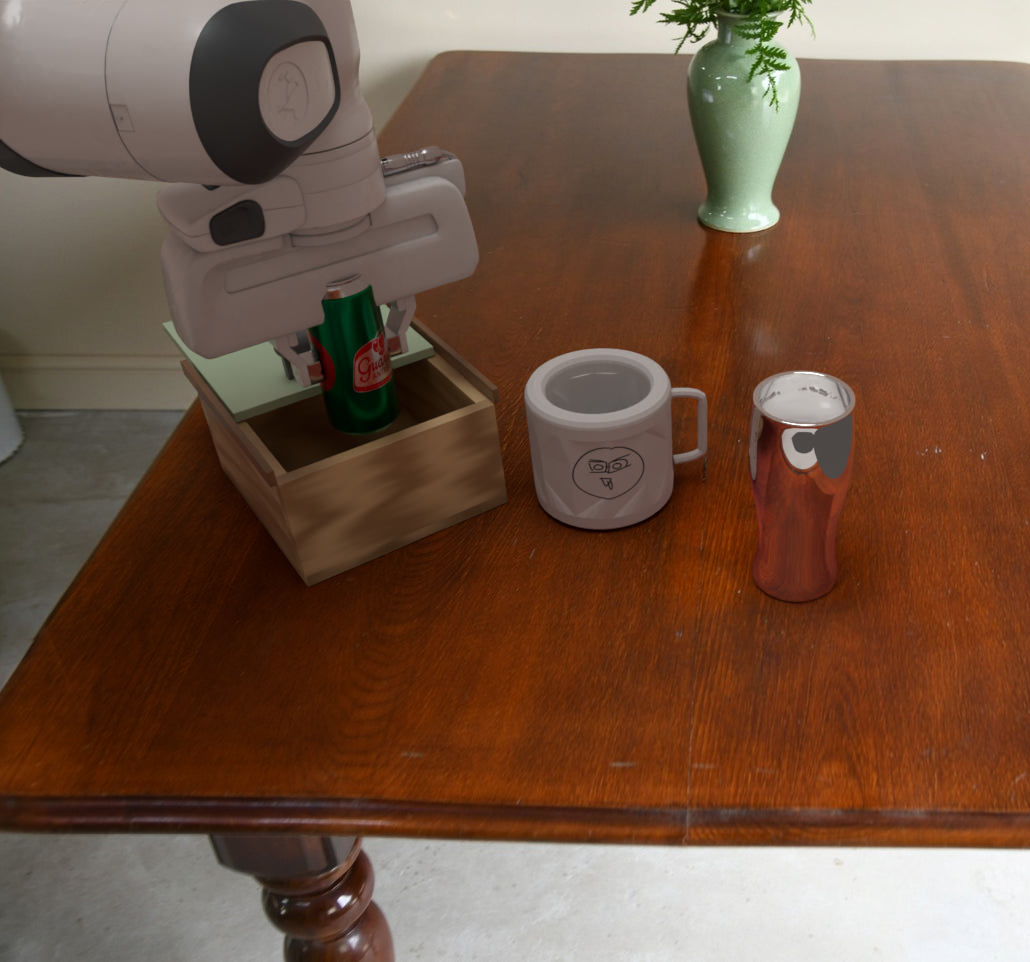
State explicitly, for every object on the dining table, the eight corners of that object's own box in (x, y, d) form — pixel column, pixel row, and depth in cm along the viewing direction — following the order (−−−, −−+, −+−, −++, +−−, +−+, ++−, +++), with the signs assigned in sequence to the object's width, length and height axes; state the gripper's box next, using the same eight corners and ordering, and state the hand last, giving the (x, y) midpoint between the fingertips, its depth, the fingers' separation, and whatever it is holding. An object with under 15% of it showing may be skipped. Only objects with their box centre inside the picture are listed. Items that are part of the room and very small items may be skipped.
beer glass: (863, 582, 80) (881, 404, 71) (785, 621, 77) (793, 439, 68) (803, 531, 85) (813, 357, 76) (727, 565, 81) (728, 388, 72)
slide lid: (236, 423, 80) (220, 373, 77) (164, 331, 90) (149, 285, 88) (435, 355, 87) (426, 308, 85) (347, 278, 98) (338, 234, 95)
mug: (541, 541, 83) (527, 429, 77) (532, 458, 92) (519, 351, 86) (720, 519, 86) (720, 409, 80) (695, 440, 94) (694, 335, 88)
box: (301, 590, 79) (266, 473, 73) (215, 470, 91) (179, 360, 84) (513, 499, 88) (498, 387, 81) (411, 400, 99) (391, 296, 93)
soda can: (379, 445, 79) (344, 290, 72) (316, 433, 80) (275, 280, 73) (415, 407, 83) (385, 257, 76) (354, 396, 84) (319, 247, 77)
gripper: (436, 126, 78) (463, 306, 86) (126, 201, 67) (191, 397, 76) (481, 152, 74) (505, 338, 82) (160, 235, 63) (225, 438, 72)
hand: (352, 367), depth 79 cm, fingers closed on soda can, 5 cm apart
